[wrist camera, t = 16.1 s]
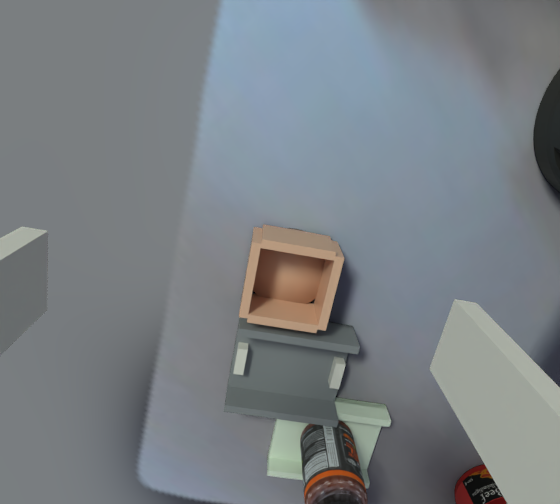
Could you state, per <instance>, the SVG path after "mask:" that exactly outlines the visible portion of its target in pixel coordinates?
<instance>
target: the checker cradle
mask: <svg viewBox="0 0 560 504" xmlns="http://www.w3.org/2000/svg"><path fill="white" fill-rule="evenodd" d="M359 349H360V345H359V343H358V340H357V337H356V334H355V331H354V328H353V326H349V325H343V324H337V323H330V322H328V324H327V328H326V331H324V330H317V332H316V333H311V332H305V331H299V330H292V329H286V328H279V327H273V326H267V325H260V324H254V323H248V322H247V318H241V317H240V319H239V325H238V331H237V336H236V342H235V347H234V353H233V359H232V364H231V370H230V376H229V381H228V387H227V394H226V400H225V407H224V412H230V413H237V414H244V415H251V416H258V417H266V418H273V419H280V420H287V421H294V422H301V423H309V424H316V425H323V426H330V427H337V425H338V422H339V421H338V416H337V411H336V406H335V398H336V394H337V391H338V389H339V387H340V383H341V380H342V376H343V373H344V369H345V366H346V364H345V363H346V359H347V355H348V353H352V354H358V353H359Z"/></svg>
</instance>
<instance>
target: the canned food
mask: <svg viewBox="0 0 560 504" xmlns="http://www.w3.org/2000/svg"><path fill="white" fill-rule="evenodd" d="M455 501H456V504H507V502H506V500H505V499H504V497H503V495H502V493H501V492H500V490H499V488H498V487H497V485H496V483H495V481H494V480H493V478H492V476H491V474H490V473H489V471H488V469H487V467H486V466H485V464H484V465H480V466H476V467H474V468H472V469H470V470H469V471H467V472H466V473H464V474H463V475H462V476H461V477H460V479H459V480H458V482H457V484H456V486H455Z"/></svg>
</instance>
